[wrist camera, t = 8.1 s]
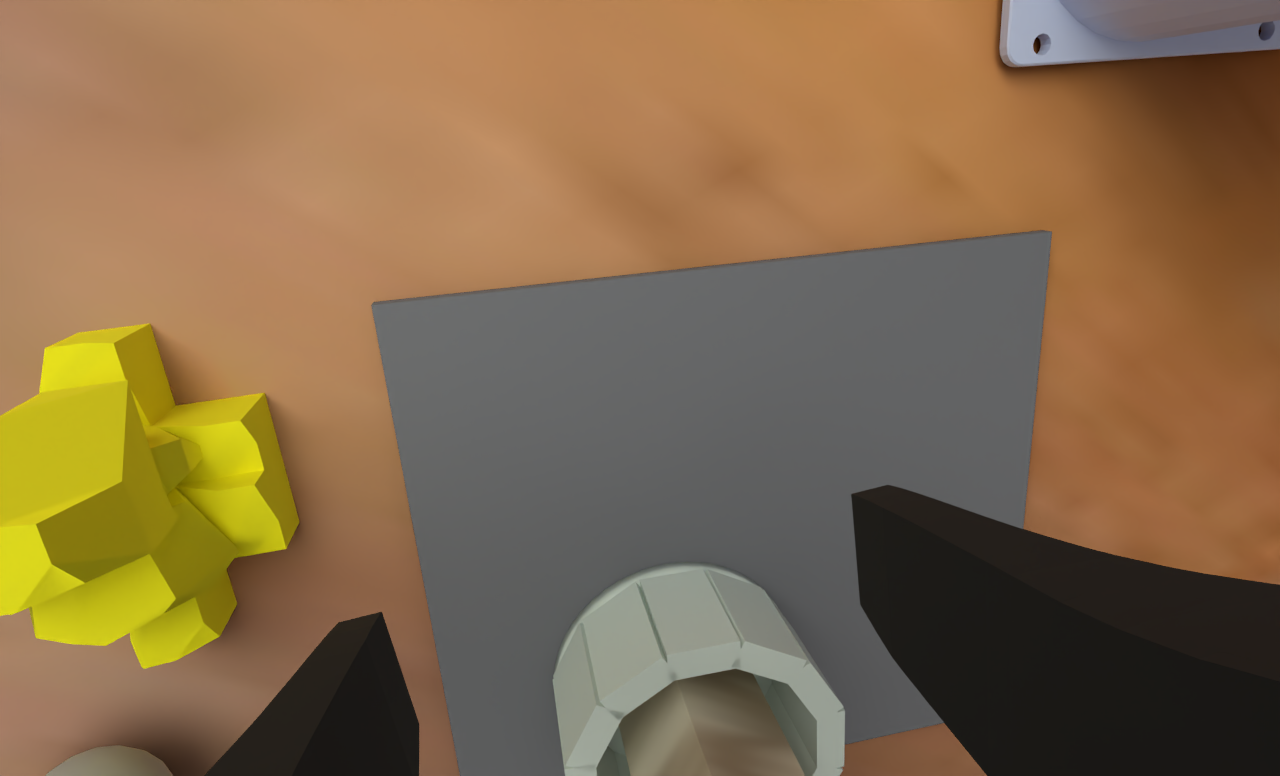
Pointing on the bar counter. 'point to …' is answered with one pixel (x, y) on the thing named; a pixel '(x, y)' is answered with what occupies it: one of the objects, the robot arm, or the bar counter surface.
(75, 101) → the bar counter surface
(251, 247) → the bar counter surface
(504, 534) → the mat
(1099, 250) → the bar counter surface
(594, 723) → the jar
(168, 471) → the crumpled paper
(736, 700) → the peg
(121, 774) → the grey round disc
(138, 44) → the bar counter surface
